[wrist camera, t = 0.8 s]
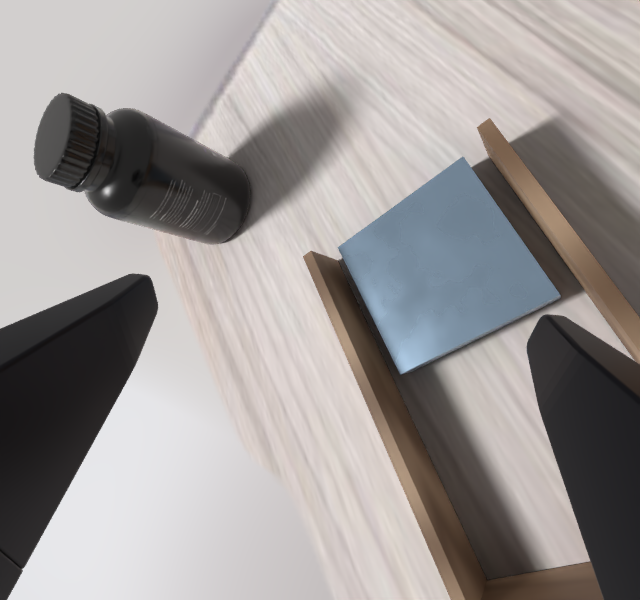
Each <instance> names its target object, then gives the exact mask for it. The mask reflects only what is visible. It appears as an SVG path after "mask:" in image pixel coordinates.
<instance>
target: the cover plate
mask: <svg viewBox="0 0 640 600" xmlns="http://www.w3.org/2000/svg"><path fill="white" fill-rule="evenodd" d="M338 249H339V251H340V253H341V255H342V257H343V259H344V261H345V263H346V265H347V267H348V269H349V271H350V273H351V276H352V278H353V280H354V282H355V284H356V286H357V288H358V290H359V292H360V294H361V296H362V298H363V300H364V302H365V304H366V306H367V308H368V310H369V312H370V314H371V316H372V318H373V320H374V322H375V324H376V326H377V328H378V331H379V333H380V335H381V337H382V339H383V341H384V343H385V345H386V347H387V349H388V351H389V353H390V355H391V357H392V359H393V361H394V363H395V365H396V367H397V369H398V371H399V373H400V375H401V374H405V373H410V372H412V371H414V370H416V369H418V368H420V367H422V366H424V365H426V364H428V363H430V362H432V361H434V360H436V359H438V358H441V357H443V356H445V355H447V354H449V353H451V352H453V351H455V350H457V349H459V348H461V347H463V346H465V345H467V344H469V343H471V342H473V341H475V340H477V339H479V338H481V337H483V336H485V335H487V334H489V333H491V332H493V331H495V330H497V329H499V328H501V327H503V326H505V325H508V324H510V323H512V322H514V321H516V320H518V319H520V318H522V317H524V316H526V315H528V314H530V313H532V312H534V311H536V310H538V309H540V308H542V307H544V306H546V305H548V304H550V303H552V302H554V301H556V300H558V299H560V296H561V295H560V294H559V292H558V291H557V289H556V288H555V287H554V285H553V284H552V282H551V281H550V279H549V278H548V277H547V275H546V274H545V272H544V271H543V269H542V268H541V267H540V265H539V264H538V262H537V261H536V259H535V258H534V257H533V255H532V254H531V252H530V251H529V249H528V248H527V247H526V245H525V244H524V242H523V241H522V239H521V238H520V237H519V235H518V234H517V232H516V231H515V230H514V228H513V227H512V225H511V224H510V222H509V221H508V220H507V218H506V217H505V215H504V214H503V212H502V211H501V210H500V208H499V207H498V205H497V204H496V202H495V201H494V200H493V198H492V197H491V195H490V194H489V192H488V191H487V190H486V188H485V187H484V185H483V184H482V182H481V181H480V180H479V178H478V177H477V175H476V174H475V172H474V171H473V170H472V168H471V167H470V165H469V164H468V162H467V161H466V160H465V158H464V157H462V158H460V159H459V160H457V161H456V162H455V163H453V164H452V165H451V166H449V167H448V168H446V169H445V170H444V171H442V172H441V173H440V174H438V175H437V176H435V177H434V178H433V179H431V180H430V181H429V182H427V183H426V184H424V185H423V186H422V187H420V188H419V189H418V190H416V191H415V192H413V193H412V194H411V195H409V196H408V197H407V198H405V199H404V200H402V201H401V202H400V203H398V204H397V205H396V206H394V207H393V208H391V209H390V210H389V211H387V212H386V213H385V214H383V215H382V216H380V217H379V218H378V219H376V220H375V221H374V222H372V223H371V224H369V225H368V226H367V227H365V228H364V229H363V230H361V231H360V232H358V233H357V234H356V235H354V236H353V237H352V238H350V239H349V240H347V241H346V242H345V243H343V244H342V245H341V246H339V247H338Z"/></svg>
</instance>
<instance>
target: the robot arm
mask: <svg viewBox="0 0 640 600" xmlns="http://www.w3.org/2000/svg"><path fill="white" fill-rule="evenodd" d="M157 310H158V302H157V298H156V294H155V290H154V286H153V283H152V280H151V278H150V277H149V276H148V275H142V274H129V275H126V276H124V277H121V278H119V279H117V280H114V281H112V282H110V283H108V284H105V285H103V286H100V287H98V288H96V289H93V290H91V291H88V292H86V293H84V294H81V295H79V296H77V297H74V298H72V299H70V300H67V301H65V302H62V303H60V304H58V305H55V306H53V307H51V308H48V309H46V310H43V311H41V312H39V313H36V314H34V315H32V316H29V317H27V318H25V319H22V320H20V321H18V322H15V323H13V324H11V325H8V326H6V327H4V328H1V329H0V600H7V599H8V597H9V595H10V593H11V591H12V590H13V588H14V586H15V584H16V582H17V581H18V579H19V577H20V575H21V573H22V571H23V570H22V569H23V568H24V567H25V565H26V564H27V562H28V560H29V558H30V556H31V554H32V552H33V551H34V549H35V547H36V545H37V543H38V542H39V540H40V538H41V536H42V535H43V533H44V531H45V529H46V527H47V525H48V523H49V522H50V520H51V518H52V516H53V514H54V513H55V511H56V509H57V507H58V505H59V504H60V502H61V500H62V498H63V496H64V495H65V493H66V491H67V489H68V487H69V486H70V484H71V482H72V480H73V478H74V476H75V475H76V473H77V471H78V469H79V467H80V466H81V464H82V462H83V460H84V458H85V456H86V455H87V453H88V451H89V449H90V447H91V445H92V444H93V442H94V440H95V438H96V436H97V435H98V433H99V431H100V429H101V427H102V426H103V424H104V422H105V420H106V418H107V416H108V415H109V413H110V411H111V409H112V407H113V405H114V404H115V402H116V400H117V398H118V397H119V395H120V393H121V391H122V389H123V387H124V386H125V384H126V382H127V380H128V378H129V376H130V375H131V373H132V371H133V369H134V367H135V365H136V362H137V361H138V358H139V356H140V354H141V351H142V349H143V346H144V344H145V341H146V338H147V336H148V334H149V332H150V329H151V327H152V324H153V321H154V319H155V317H156V314H157ZM527 354H528V359H529V364H530V369H531V373H532V378H533V383H534V388H535V392H536V397H537V402H538V406H539V410H540V413H541V416H542V419H543V423H544V425H545V428H546V431H547V434H548V437H549V440H550V443H551V446H552V449H553V452H554V455H555V458H556V461H557V464H558V467H559V470H560V473H561V476H562V479H563V481H564V484H565V487H566V490H567V493H568V496H569V499H570V502H571V505H572V508H573V511H574V514H575V517H576V520H577V523H578V526H579V529H580V532H581V535H582V538H583V540H584V543H585V546H586V549H587V552H588V555H589V558H590V561H591V564H592V567H593V570H594V573H595V576H596V579H597V582H598V585H599V588H600V591H601V594H602V597H603V599H604V600H640V364H638V363H637V362H635V361H634V360H632V359H630V358H629V357H627V356H626V355H624V354H623V353H621V352H619V351H618V350H616V349H615V348H613V347H612V346H610V345H609V344H607V343H605V342H604V341H602V340H601V339H599V338H598V337H596V336H594V335H593V334H591V333H590V332H588V331H587V330H585V329H583V328H582V327H580V326H579V325H577V324H576V323H574V322H572V321H571V320H569V319H568V318H566V317H564V316H559V315H548V314H546V315H543V316H542V317H541V318H540V319H539V321H538V323H537V325H536V326H535V328H534V330H533V332H532V334H531V336H530V338H529V340H528V343H527Z"/></svg>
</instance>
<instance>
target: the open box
mask: <svg viewBox="0 0 640 600" xmlns="http://www.w3.org/2000/svg"><path fill="white" fill-rule="evenodd" d="M477 129H478V131H479V134H480V136H481V139H482V141H483V144H484V146H485V148H486V151H487V153H488V156H489V157H490V158H491V160H492V161H493V163H494V164H495V165H496V167H497V168H498V170H499V171H500V172H501V174H502V175H503V177H504V178H505V179H506V181H507V182H508V184H509V185H510V186H511V188H512V189H513V191H514V192H515V193H516V195H517V196H518V198H519V199H520V200H521V202H522V203H523V205H524V206H525V207H526V209H527V210H528V212H529V213H530V214H531V216H532V217H533V219H534V220H535V221H536V223H537V224H538V226H539V227H540V228H541V230H542V231H543V233H544V234H545V235H546V237H547V238H548V240H549V241H550V242H551V244H552V245H553V247H554V248H555V249H556V251H557V252H558V254H559V255H560V256H561V258H562V259H563V261H564V262H565V263H566V265H567V266H568V268H569V269H570V270H571V272H572V273H573V275H574V276H575V277H576V279H577V280H578V282H579V283H580V284H581V286H582V287H583V289H584V290H585V291H586V293H587V294H588V296H589V297H590V298H591V300H592V301H593V303H594V304H595V305H596V307H597V308H598V310H599V311H600V312H601V314H602V315H603V317H604V318H605V319H606V321H607V322H608V324H609V325H610V326H611V328H612V329H613V331H614V332H615V333H616V335H617V336H618V338H619V339H620V340H621V342H622V343H623V345H624V346H625V347H626V349H627V350H628V352H629V353H630V354H631V356H632V357H633V359H634V360H635V361H636V362H637V363H638V364H640V317H639V316H638V315H637V313H636V312H635V311H634V309H633V308H632V307H631V305H630V304H629V303H628V301H627V300H626V299H625V297H624V296H623V295H622V294H621V292H620V291H619V290H618V288H617V287H616V286H615V284H614V283H613V282H612V280H611V279H610V278H609V276H608V275H607V274H606V272H605V271H604V270H603V268H602V267H601V266H600V264H599V263H598V262H597V260H596V259H595V258H594V256H593V255H592V254H591V252H590V251H589V250H588V248H587V247H586V246H585V244H584V243H583V242H582V240H581V239H580V238H579V236H578V235H577V234H576V232H575V231H574V230H573V228H572V227H571V226H570V224H569V223H568V222H567V220H566V219H565V218H564V216H563V215H562V214H561V212H560V211H559V210H558V208H557V207H556V206H555V204H554V203H553V202H552V200H551V199H550V198H549V196H548V195H547V194H546V192H545V191H544V190H543V188H542V187H541V186H540V184H539V183H538V182H537V180H536V179H535V178H534V176H533V175H532V174H531V172H530V171H529V170H528V168H527V167H526V166H525V164H524V163H523V162H522V160H521V159H520V158H519V156H518V155H517V154H516V152H515V151H514V150H513V148H512V147H511V146H510V144H509V143H508V142H507V140H506V139H505V138H504V136H503V135H502V134H501V132H500V131H499V130H498V128H497V127H496V126H495V124H494V123H493V122H492V120H491V119H490V118H489V119H488V120H486V121H485V122H484V123H482V124H481V125H480V126H478V127H477ZM303 258H304V260H305V262H306V265H307V267H308V269H309V272H310V274H311V276H312V279H313V281H314V283H315V286H316V288H317V290H318V293H319V295H320V297H321V300H322V302H323V304H324V306H325V309H326V311H327V313H328V316H329V318H330V320H331V323H332V325H333V327H334V330H335V332H336V334H337V337H338V339H339V341H340V344H341V346H342V348H343V351H344V353H345V355H346V357H347V360H348V362H349V364H350V367H351V369H352V371H353V374H354V376H355V378H356V381H357V383H358V385H359V388H360V390H361V392H362V395H363V397H364V399H365V402H366V404H367V406H368V408H369V411H370V413H371V415H372V418H373V420H374V422H375V425H376V427H377V429H378V432H379V434H380V436H381V439H382V441H383V443H384V446H385V448H386V450H387V453H388V455H389V457H390V459H391V462H392V464H393V466H394V469H395V471H396V473H397V476H398V478H399V480H400V483H401V485H402V487H403V490H404V492H405V494H406V497H407V499H408V501H409V504H410V506H411V508H412V510H413V513H414V515H415V517H416V520H417V522H418V524H419V527H420V529H421V531H422V534H423V536H424V538H425V541H426V543H427V545H428V548H429V550H430V552H431V555H432V557H433V559H434V562H435V564H436V566H437V568H438V571H439V573H440V575H441V578H442V580H443V582H444V585H445V587H446V589H447V592H448V594H449V596H450V599H451V600H604V599H603V597H602V594H601V591H600V588H599V585H598V582H597V579H596V576H595V573H594V570H593V567H592V564H591V562H587V563H581V564H575V565H570V566H564V567H559V568H553V569H548V570H542V571H536V572H531V573H525V574H520V575H514V576H508V577H503V578H497V579H492V580H487V579H486V577H485V575H484V572H483V570H482V568H481V566H480V564H479V562H478V560H477V557H476V555H475V553H474V551H473V549H472V547H471V545H470V543H469V540H468V538H467V536H466V534H465V532H464V530H463V528H462V525H461V523H460V521H459V519H458V517H457V515H456V513H455V510H454V508H453V506H452V504H451V502H450V500H449V498H448V495H447V493H446V491H445V489H444V487H443V485H442V483H441V480H440V478H439V476H438V474H437V472H436V470H435V468H434V465H433V463H432V461H431V459H430V457H429V455H428V453H427V451H426V448H425V446H424V444H423V442H422V440H421V438H420V436H419V433H418V431H417V429H416V427H415V425H414V423H413V421H412V418H411V416H410V414H409V412H408V410H407V408H406V406H405V403H404V401H403V399H402V397H401V395H400V393H399V391H398V388H397V386H396V384H395V382H394V380H393V378H392V376H391V373H390V371H389V369H388V367H387V365H386V363H385V361H384V359H383V356H382V354H381V352H380V350H379V348H378V346H377V344H376V341H375V339H374V337H373V335H372V333H371V331H370V329H369V326H368V324H367V322H366V320H365V318H364V316H363V314H362V311H361V309H360V307H359V305H358V303H357V301H356V299H355V296H354V294H353V292H352V290H351V288H350V286H349V284H348V282H347V279H346V277H345V275H344V273H343V271H342V269H341V267H340V264H339V262H338V260H335V259H332V258H329V257H327V256H324V255H321V254H318V253H316V252H313V251H310V252H309V253H307V254H306V255H304V256H303Z"/></svg>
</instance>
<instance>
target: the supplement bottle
mask: <svg viewBox="0 0 640 600" xmlns="http://www.w3.org/2000/svg"><path fill="white" fill-rule="evenodd" d="M34 165H35V170H36V172H37V174H38V175H39V177H40V178H41V179H43V180H45V181H48V182H51V183H55V184H58V185H61V186H64V187H65V188H66V189H69V190H71V191H75V192H82V191H85V194H86V197H87V198H88V200H89V202H90V203H91V205H92V206H93V207H94V208H95V209H96V210H97V211H99V212H100V213H102V214H103V215H105V216H108V217H111V218H114V219H118V220H121V221H125V222H128V223H132V224H136V225H139V226H143V227H147V228H150V229H154V230H157V231H161V232H165V233H168V234H172V235H176V236H179V237H183V238H187V239H190V240H194V241H197V242H201V243H205V244H219V243H222V242H224V241H226V240H228V239H229V238H230V237H232V236H233V235H234V234H235V233H236V232H237V230H238V229H239V228H240V226H241V225H242V223H243V221H244V219H245V217H246V214H247V211H248V208H249V202H250V186H249V182H248V178H247V176H246V174H245V172H244V170H243V169H242V168H241V167H240V166H239V165H238V164H237V163H235V162H234V161H232V160H230V159H228V158H227V157H225V156H223V155H221V154H219V153H218V152H216V151H214V150H212V149H210V148H208V147H206V146H205V145H203V144H201V143H199V142H197V141H195V140H194V139H192V138H190V137H188V136H186V135H184V134H182V133H180V132H179V131H177V130H175V129H173V128H171V127H170V126H167V125H165V124H164V123H162V122H160V121H158V120H157V119H155V118H153V117H151V116H149V115H147V114H145V113H143V112H141V111H139V110H136V109H131V108H123V109H118V110H115V111H112V112H110V113H109V114H107V115H105V113H104V112H103V110H102V109H100V108H98V107H96V106H94V105H92V104H87V103H86V102H84V101H82V100H80V99H77V98H76V97H74V96H71V95H69V94H65V93H61V94H58V95H57V96H55V97H54V99H53V100H51V102H50V104H49V105H48V106H47V108H46V110H45V112H44V114H43V117H42V119H41V122H40V125H39V127H38V132H37V135H36V141H35V148H34Z"/></svg>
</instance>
